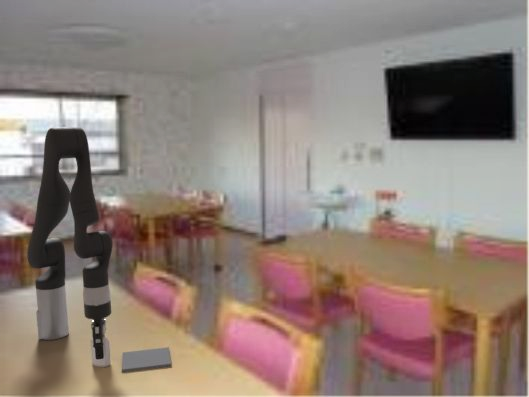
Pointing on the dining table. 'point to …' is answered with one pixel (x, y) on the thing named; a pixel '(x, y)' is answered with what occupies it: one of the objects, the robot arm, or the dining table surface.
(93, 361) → the eye dropper bottle
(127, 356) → the slate mat
